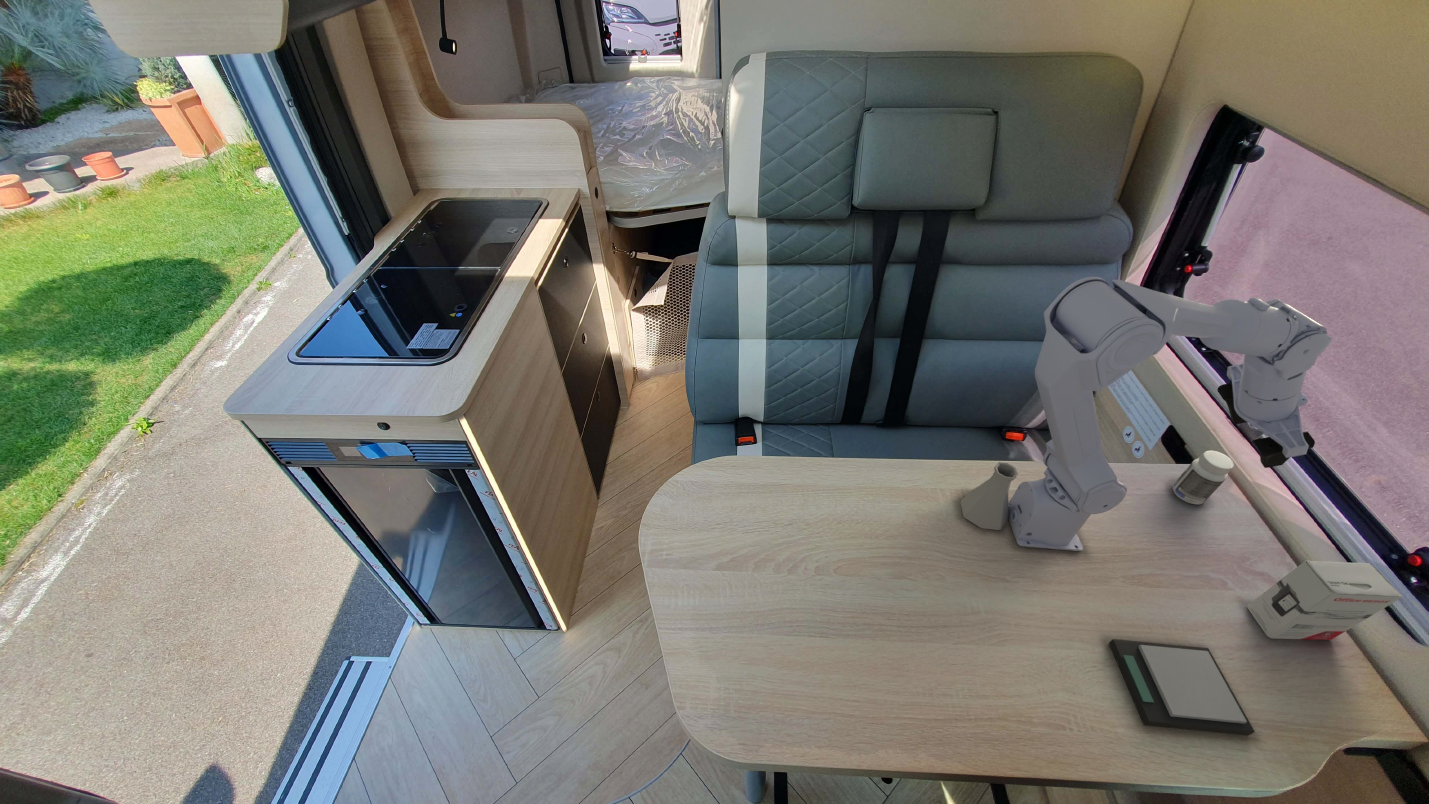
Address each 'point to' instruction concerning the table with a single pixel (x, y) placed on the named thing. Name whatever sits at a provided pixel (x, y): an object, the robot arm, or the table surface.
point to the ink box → (1322, 600)
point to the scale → (1179, 687)
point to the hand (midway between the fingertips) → (1256, 442)
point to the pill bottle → (1203, 477)
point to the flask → (990, 499)
